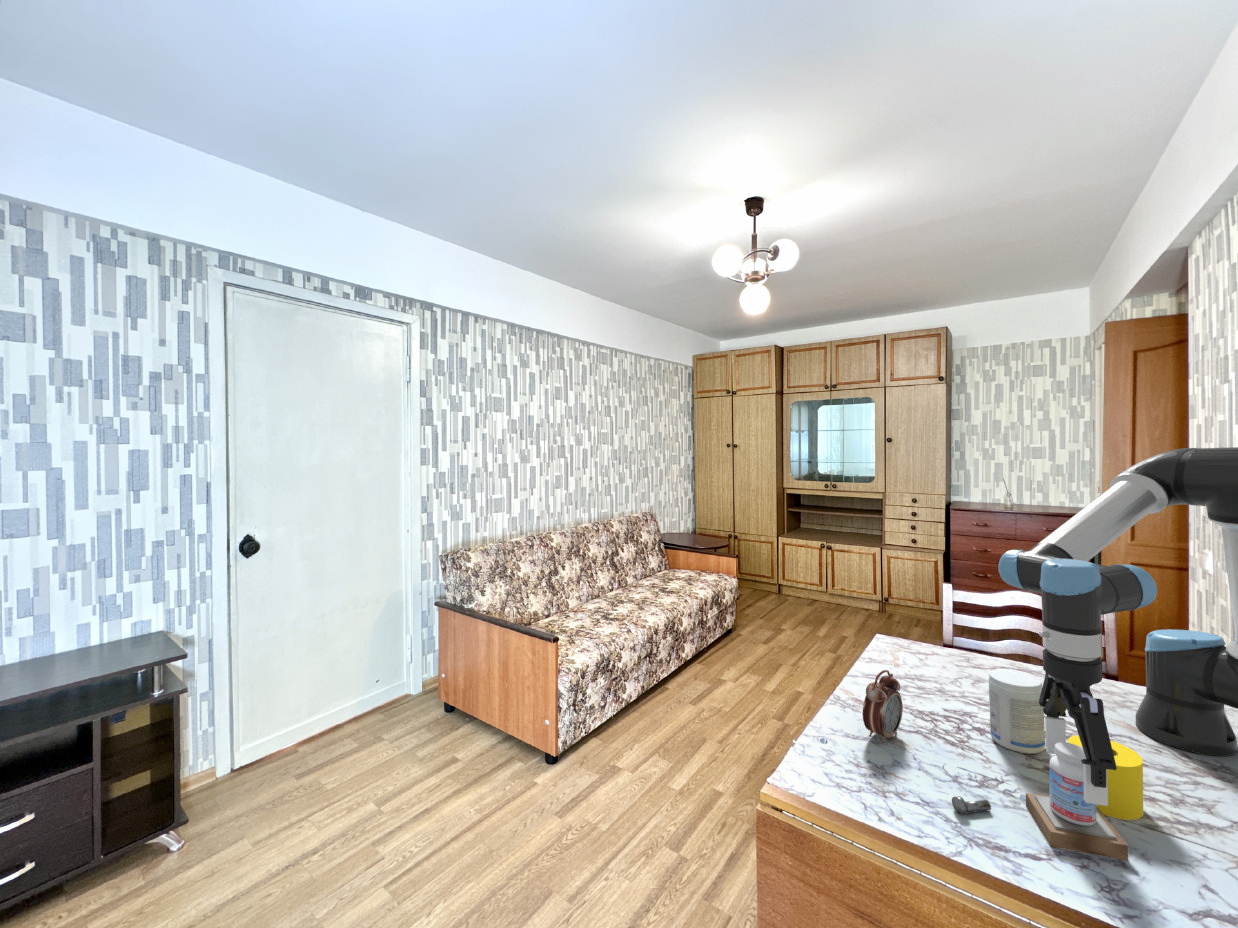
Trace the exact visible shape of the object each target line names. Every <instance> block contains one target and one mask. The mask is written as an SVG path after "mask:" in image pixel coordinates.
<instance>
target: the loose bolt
mask: <svg viewBox="0 0 1238 928" xmlns="http://www.w3.org/2000/svg"><path fill="white" fill-rule="evenodd" d="M951 804H952V807H953V810H954V811H955V812H956V813H957V814H959V815H963V814H965V815H966V814H968V813H978V812H987V811H991V810H992V806H991V803H990V802H989V801H988V800H987V799H981V800H971V801H965V800H964V798H963V797H961V796H959V795H958V796H952V797H951Z"/></svg>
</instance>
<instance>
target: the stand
mask: <svg viewBox="0 0 1238 928" xmlns="http://www.w3.org/2000/svg"><path fill="white" fill-rule="evenodd" d="M1025 807H1026V809H1027V811H1028V812H1029V814H1030V816H1031V817H1032V819H1033V820H1034V822H1035V823H1036V826H1037V827H1038V828H1039V830H1040V832H1041V833H1042V835H1043V837H1044V838H1045V840H1046V841H1047V843H1048V844H1049V845H1048V846H1049V847H1052V848H1057V849H1062V850H1068V851H1073V852H1078V853H1085V854H1089V855H1095V856H1100V857H1104V858H1111V859H1115V860H1122V861H1126V862H1129V845H1128V844H1127V841H1125V840H1124V838H1123V837H1122V836H1121V835H1120V833H1119V832H1118V831H1117V829H1115V827H1114V826H1113V824H1111V823H1110V821H1109V820H1108V819H1107V816H1106V815H1103V814H1102V813H1101V811H1100V810H1099V809H1098V808H1097V814H1096V823H1095V824H1093V825H1091V826H1083V825H1078V824H1074V823H1071V822H1069V821H1066V820H1064V819H1062V818H1061V817H1059V816H1058V815H1056V814H1055V813H1054V812H1053V810H1052V809H1051V807H1050V795H1048V796H1047V795H1042V794H1037V793H1036V794H1034V793H1029V792H1025Z"/></svg>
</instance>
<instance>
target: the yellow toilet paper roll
mask: <svg viewBox="0 0 1238 928" xmlns="http://www.w3.org/2000/svg"><path fill="white" fill-rule="evenodd" d="M1110 742H1111V746H1112V750H1113V754H1114V758H1115V763H1116V767H1117V769H1116V770H1110V769H1107V786H1108V806H1104V805H1098V804H1097V808H1098V809H1099V810H1100V811H1101V813H1102V814H1103V815H1104V816H1105V817H1110V818H1113V819H1119V820H1125V821H1133V820H1134V821H1135V820H1139V819H1142V817H1143V816H1144V759H1143V758H1142V756H1141V755H1140V754H1139V753H1138V752H1136V751H1135V750H1133V749H1132V748H1130V747H1128V746H1126V745H1124V744H1122V743H1119V742H1117V741H1113V740H1111V739H1110ZM1067 743H1071V744H1075V745H1078V746H1080V747H1082V744H1081V741H1080V737H1079V734H1077V735H1071V736H1070V737H1069V738H1068V739H1067ZM1082 748H1083V747H1082Z"/></svg>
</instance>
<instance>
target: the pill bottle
mask: <svg viewBox="0 0 1238 928" xmlns="http://www.w3.org/2000/svg"><path fill="white" fill-rule="evenodd" d="M1083 759H1086V757H1085V754H1084V750H1083V748H1082V747H1080V746H1078V745H1075V744H1071V743H1068V742H1066V743H1065V742H1060V743H1056V744H1055V754H1054V756H1052V757H1050V760H1049V797H1050V807H1051V809H1052V810H1053V812H1054V813H1055V814H1056V815H1058V816H1059V817H1061V818H1062V819H1064V820H1066V821H1069V822H1071V823H1074V824H1078V825H1083V826H1091V825H1093V824H1095V823H1096V814H1097V804H1091V803H1086V802H1085V800H1084V783H1083V763H1082V762H1081V760H1083Z"/></svg>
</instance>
